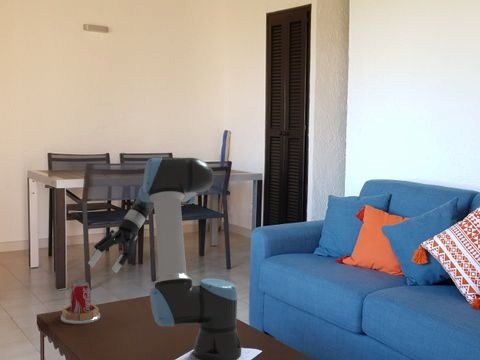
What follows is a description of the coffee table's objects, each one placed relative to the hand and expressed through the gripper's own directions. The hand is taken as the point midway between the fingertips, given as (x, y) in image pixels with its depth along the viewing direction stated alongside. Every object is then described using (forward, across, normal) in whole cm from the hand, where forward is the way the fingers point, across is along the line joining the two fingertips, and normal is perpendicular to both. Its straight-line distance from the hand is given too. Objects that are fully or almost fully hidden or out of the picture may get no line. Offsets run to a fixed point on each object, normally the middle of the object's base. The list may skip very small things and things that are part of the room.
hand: (102, 268), depth 227 cm
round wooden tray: (+19, 0, -5) cm, 20 cm away
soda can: (+18, 0, -4) cm, 19 cm away
